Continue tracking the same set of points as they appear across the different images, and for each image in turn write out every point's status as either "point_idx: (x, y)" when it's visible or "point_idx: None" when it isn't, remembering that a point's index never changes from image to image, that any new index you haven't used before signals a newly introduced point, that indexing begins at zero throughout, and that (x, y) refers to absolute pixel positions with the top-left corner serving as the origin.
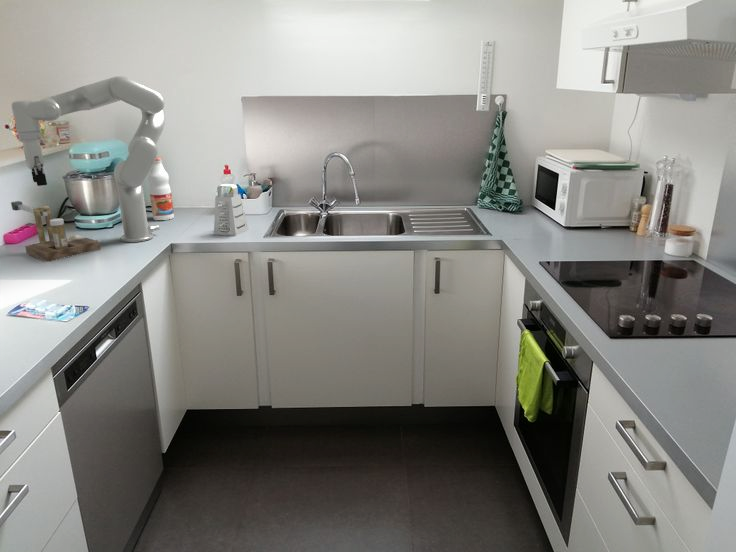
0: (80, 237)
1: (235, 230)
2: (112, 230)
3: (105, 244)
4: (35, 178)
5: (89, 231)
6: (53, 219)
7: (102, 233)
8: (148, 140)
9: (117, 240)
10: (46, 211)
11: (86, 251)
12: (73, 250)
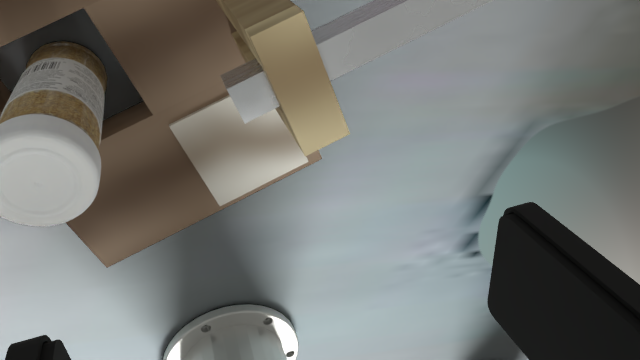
0: (234, 181)
1: None
2: (430, 256)
3: (193, 254)
4: (533, 271)
5: (477, 174)
6: (50, 160)
7: (406, 225)
8: None
9: (243, 290)
10: (242, 119)
11: None
12: None
